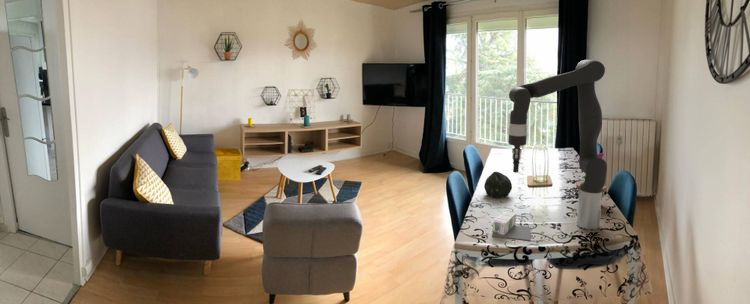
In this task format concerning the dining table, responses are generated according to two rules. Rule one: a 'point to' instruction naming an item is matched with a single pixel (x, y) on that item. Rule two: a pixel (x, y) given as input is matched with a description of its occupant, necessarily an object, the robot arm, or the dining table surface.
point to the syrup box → (504, 223)
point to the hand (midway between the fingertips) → (515, 172)
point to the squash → (498, 185)
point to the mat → (516, 233)
